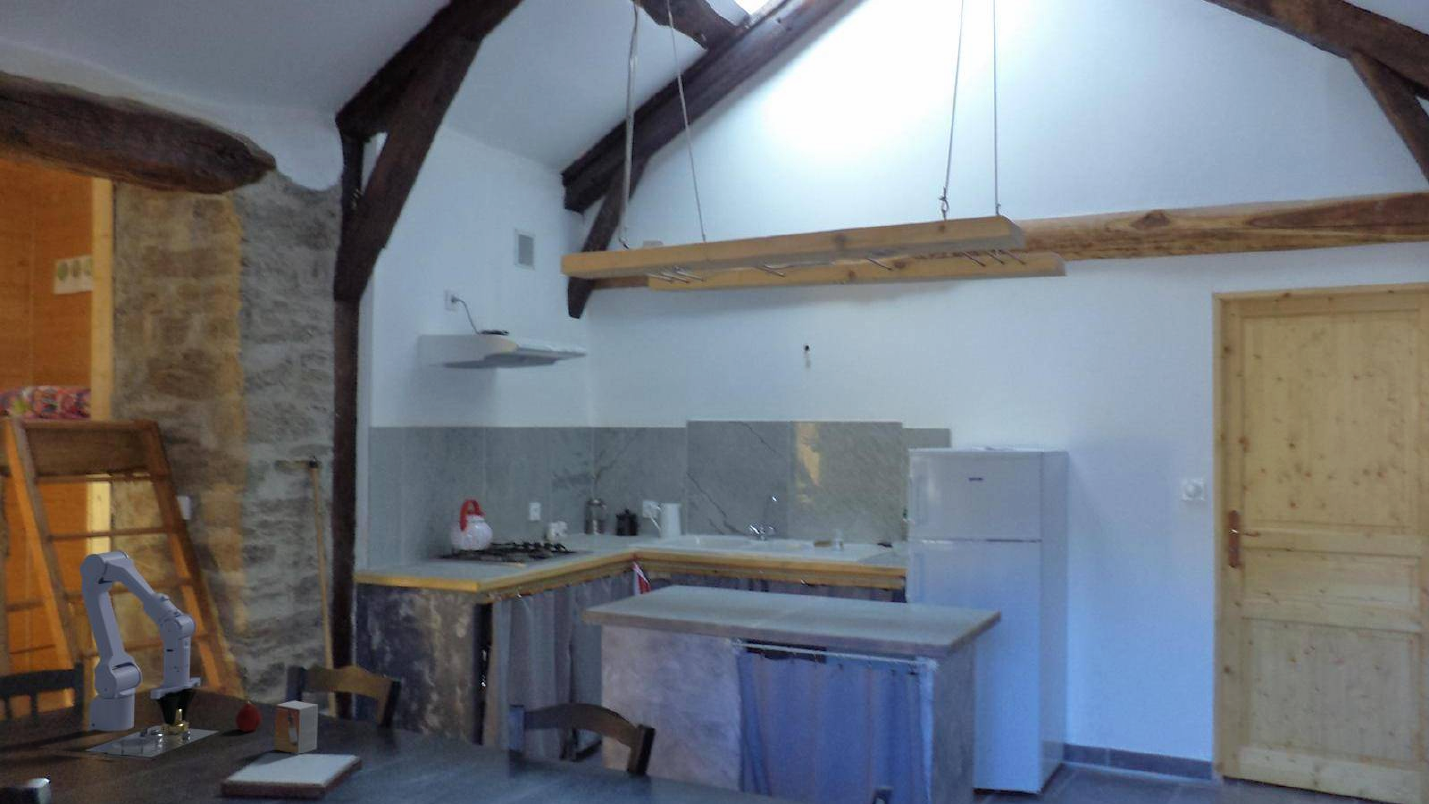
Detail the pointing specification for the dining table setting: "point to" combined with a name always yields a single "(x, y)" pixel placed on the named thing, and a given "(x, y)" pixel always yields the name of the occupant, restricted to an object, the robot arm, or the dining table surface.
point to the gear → (176, 724)
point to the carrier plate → (148, 743)
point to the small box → (296, 727)
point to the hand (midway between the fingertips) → (175, 722)
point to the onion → (248, 718)
